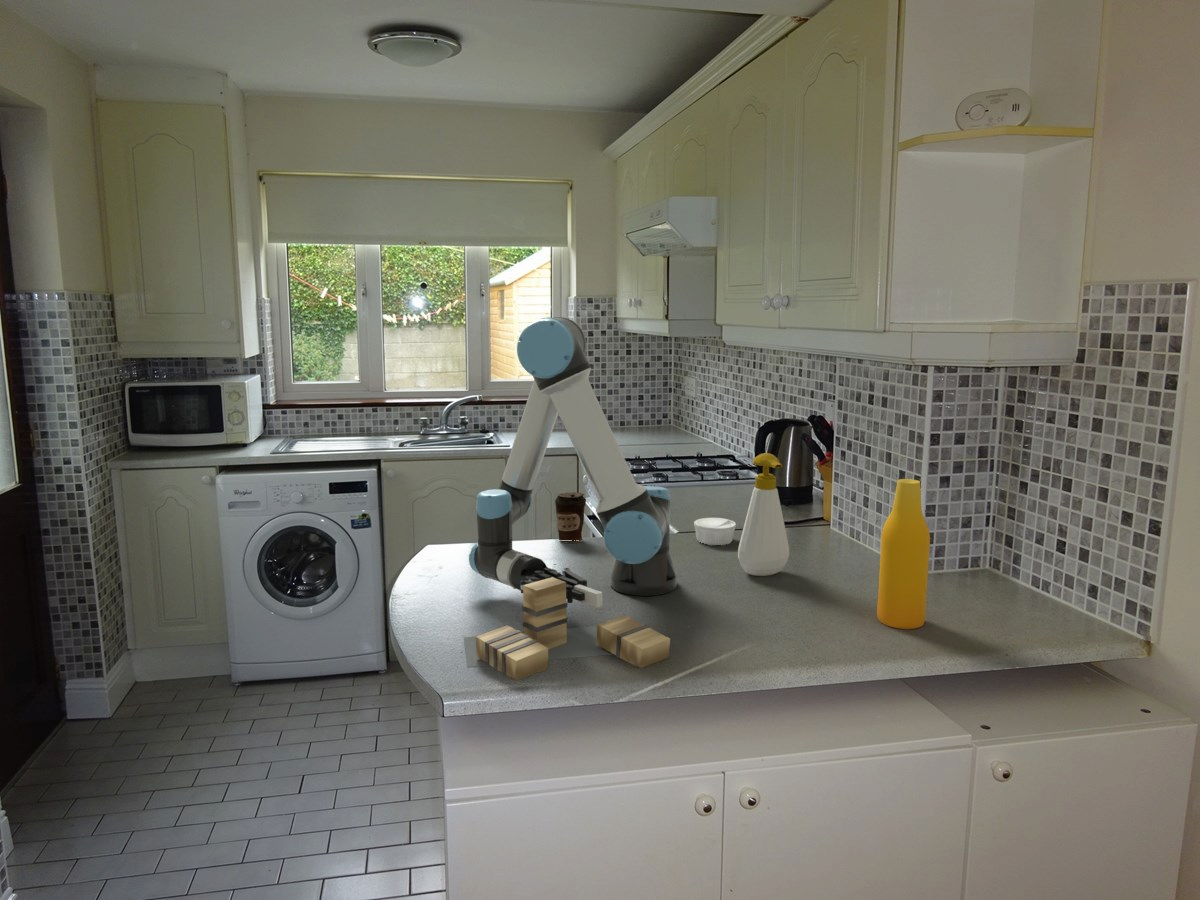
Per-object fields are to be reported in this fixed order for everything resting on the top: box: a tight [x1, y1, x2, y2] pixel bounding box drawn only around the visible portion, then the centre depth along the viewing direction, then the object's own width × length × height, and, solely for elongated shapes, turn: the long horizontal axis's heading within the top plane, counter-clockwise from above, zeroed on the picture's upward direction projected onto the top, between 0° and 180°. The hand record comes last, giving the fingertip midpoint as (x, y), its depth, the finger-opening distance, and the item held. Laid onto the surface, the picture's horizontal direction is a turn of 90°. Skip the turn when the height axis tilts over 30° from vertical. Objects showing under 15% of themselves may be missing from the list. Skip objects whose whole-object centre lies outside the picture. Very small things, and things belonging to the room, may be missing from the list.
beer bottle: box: [876, 478, 931, 630], centre depth 169 cm, size 9×9×29 cm
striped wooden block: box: [475, 624, 549, 681], centre depth 151 cm, size 4×7×12 cm
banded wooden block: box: [596, 614, 671, 669], centre depth 156 cm, size 4×7×12 cm
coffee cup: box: [554, 491, 587, 544], centre depth 230 cm, size 9×8×13 cm
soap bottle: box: [737, 452, 790, 577], centre depth 199 cm, size 13×10×29 cm
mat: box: [463, 625, 614, 668], centre depth 160 cm, size 30×14×1 cm, turn 102°
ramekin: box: [693, 517, 737, 546], centre depth 229 cm, size 11×11×5 cm
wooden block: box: [521, 577, 569, 649], centre depth 159 cm, size 4×7×12 cm, turn 132°
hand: (599, 600), depth 161 cm, fingers closed
